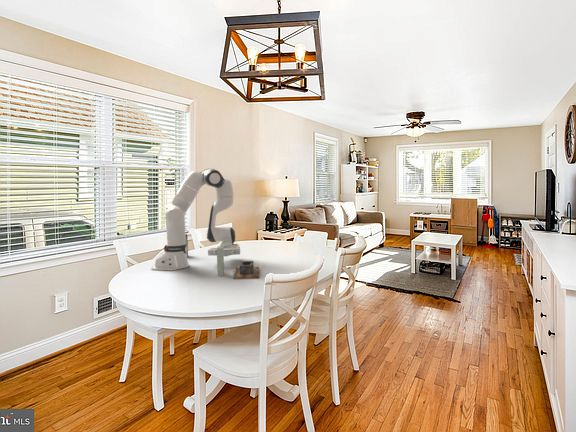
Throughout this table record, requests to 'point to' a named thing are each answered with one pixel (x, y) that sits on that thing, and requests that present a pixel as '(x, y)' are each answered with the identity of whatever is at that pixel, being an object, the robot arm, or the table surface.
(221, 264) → the pale green block
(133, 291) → the table surface
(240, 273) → the wooden base with socket
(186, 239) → the coffee box
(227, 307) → the table surface
